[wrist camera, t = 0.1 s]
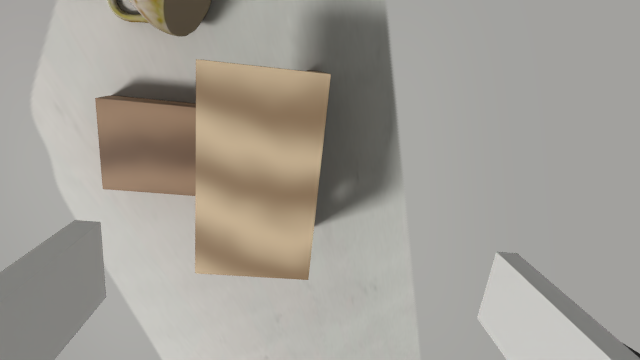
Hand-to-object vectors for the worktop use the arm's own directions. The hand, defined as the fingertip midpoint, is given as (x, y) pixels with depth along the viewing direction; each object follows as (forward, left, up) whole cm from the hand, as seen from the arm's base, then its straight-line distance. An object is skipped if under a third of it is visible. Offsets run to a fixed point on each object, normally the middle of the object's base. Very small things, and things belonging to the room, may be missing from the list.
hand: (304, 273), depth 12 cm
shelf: (+3, -3, -28) cm, 28 cm away
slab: (+3, -14, -28) cm, 32 cm away
